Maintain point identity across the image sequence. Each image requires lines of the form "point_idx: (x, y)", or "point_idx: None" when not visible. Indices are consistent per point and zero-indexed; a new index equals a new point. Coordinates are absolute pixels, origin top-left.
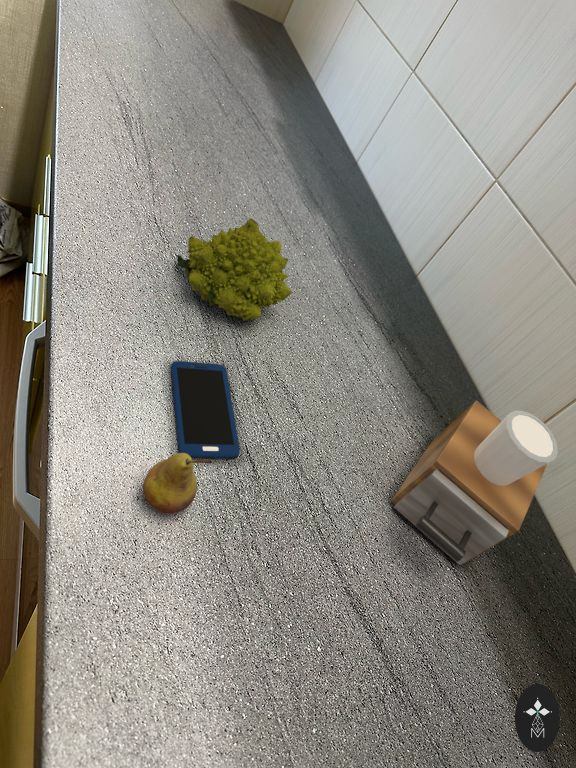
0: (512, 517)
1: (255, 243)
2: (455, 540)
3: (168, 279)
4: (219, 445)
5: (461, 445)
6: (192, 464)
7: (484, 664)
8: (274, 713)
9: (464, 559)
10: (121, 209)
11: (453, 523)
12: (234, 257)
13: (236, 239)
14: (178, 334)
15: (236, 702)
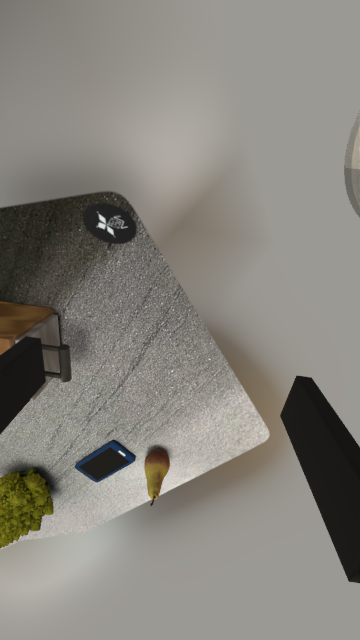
0: (2, 346)
1: (3, 535)
2: (49, 338)
3: (56, 499)
4: (116, 451)
5: None
6: (151, 490)
7: (106, 274)
8: (213, 378)
9: (53, 320)
10: (44, 527)
11: (43, 354)
12: (21, 527)
13: (12, 539)
14: (79, 484)
15: (219, 393)
